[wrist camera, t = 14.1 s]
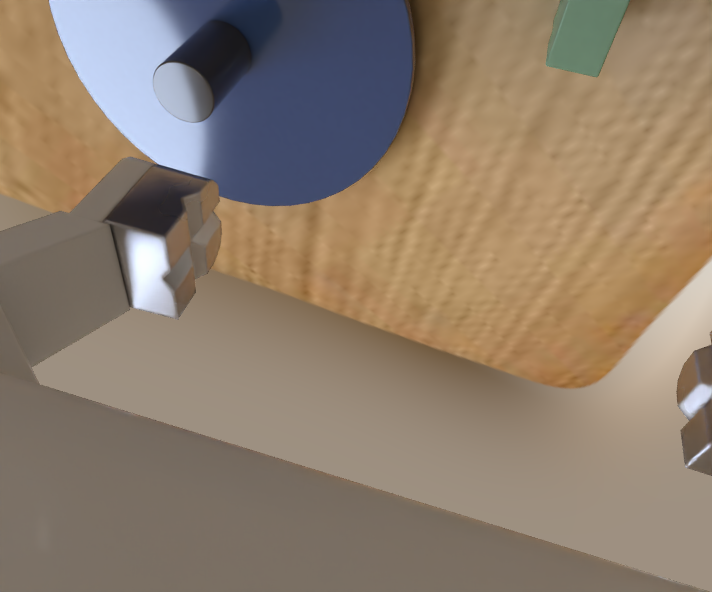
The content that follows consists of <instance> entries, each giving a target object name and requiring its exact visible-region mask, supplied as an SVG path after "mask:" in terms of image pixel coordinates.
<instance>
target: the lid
mask: <svg viewBox="0 0 712 592" xmlns="http://www.w3.org/2000/svg"><path fill="white" fill-rule="evenodd" d="M49 5H50V9H51V13H52V16H53V19H54V22H55V25H56V28H57V32H58V35H59V37H60V39H61V42H62V44H63V46H64V49H65V51H66V53H67V56H68V58H69V60H70V62H71V63H72V65H73V67H74V69H75V71H76V73H77V75H78V77H79V78H80V80H81V81H82V83H83V85H84V86H85V88H86V89H87V91H88V92H89V94H90V95H91V97H92V98H93V100H94V101H95V102H96V104H97V105H98V106H99V107H100V109H101V110H102V111H103V113H104V114H105V115H106V116H107V118H108V119H109V120H110V121H111V122H112V123H113V124H114V125H115V126H116V128H117V129H118V130H119V131H120V132H121V133H122V134H123V135H124V136H125V137H126V138H127V139H128V140H129V141H130V142H131V143H133V144H134V145H135V146H136V147H137V148H138V149H139V150H140V151H141V152H143V153H144V154H145V155H146V156H148V157H149V158H150V159H152V160H153V161H154V162H155V163H157V164H159V165H163V166H166V167H170V168H173V169H177V170H180V171H183V172H187V173H190V174H194V175H197V176H201V177H204V178H207V179H211V180H214V181H215V182H216V183H217V184H218V188H219V196H221V197H224V198H227V199H230V200H234V201H239V202H243V203H248V204H255V205H265V206H291V205H298V204H305V203H310V202H313V201H317V200H320V199H324V198H327V197H329V196H331V195H334V194H336V193H338V192H340V191H343V190H344V189H346V188H347V187H349V186H351V185H352V184H354V183H355V182H357V181H358V180H360V179H361V178H362V177H363V176H364V175H365V174H367V173H368V172H369V171H370V170H371V169H372V168H373V167H374V166H375V165H376V164H377V162H378V161H379V160H380V159H381V158H382V157H383V155H384V154H385V153H386V151H387V150H388V148H389V146H390V145H391V143H392V142H393V140H394V138H395V137H396V135H397V132H398V130H399V128H400V125H401V123H402V121H403V118H404V116H405V113H406V111H407V107H408V104H409V100H410V96H411V92H412V88H413V80H414V71H415V34H414V27H413V20H412V13H411V8H410V4H409V0H49Z"/></svg>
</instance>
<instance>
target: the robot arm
mask: <svg viewBox="0 0 712 592" xmlns="http://www.w3.org/2000/svg"><path fill="white" fill-rule="evenodd" d="M219 202H220V198H219V188H218V184H217V183H216V182H215V181H214V180H211V179H207V178H204V177H201V176H197V175H194V174H190V173H187V172H183V171H180V170H177V169H173V168H170V167H166V166H163V165H159V164H158V165H157V164H154V163H151V162H147V161H144V160H140V159H137V158H133V157H127V158H124V159H122V160H120V161H119V162H118V163H117V164H116V165H115V167H114V168H113V169H112V170H111V171H110V172H109V173H108V174H107V175H106V176H105V177H104V178H103V179H102V180H101V181H100V182H99V183H98V184H97V185H96V186H95V187H94V188H93V189H92V190H91V191H90V192H89V193H88V194H87V195H86V196H85V197H84V198H83V199H82V201H81V202H80V203H79V204H78V205H77V206H76V207H75V208H74V209H73V210H72V211H71V212H70V213H67V212H63V211H59V212H56V213H53V214H50V215H47V216H44V217H41V218H38V219H35V220H32V221H29V222H26V223H23V224H20V225H17V226H14V227H11V228H9V229H6V230H3V231H0V592H709V591H706V590H703V589H700V588H696V587H693V586H690V585H687V584H683V583H680V582H677V581H674V580H671V579H667V578H664V577H661V576H658V575H654V574H651V573H648V572H645V571H641V570H638V569H635V568H631V567H628V566H625V565H622V564H619V563H615V562H612V561H609V560H606V559H602V558H599V557H596V556H593V555H589V554H586V553H583V552H580V551H576V550H573V549H570V548H567V547H563V546H560V545H557V544H554V543H551V542H547V541H544V540H541V539H538V538H535V537H531V536H528V535H525V534H522V533H518V532H515V531H512V530H509V529H505V528H502V527H499V526H495V525H492V524H489V523H486V522H482V521H479V520H476V519H473V518H469V517H467V516H463V515H460V514H457V513H454V512H450V511H447V510H444V509H441V508H437V507H434V506H431V505H428V504H424V503H421V502H418V501H415V500H412V499H408V498H405V497H402V496H399V495H395V494H392V493H389V492H386V491H382V490H379V489H376V488H372V487H369V486H366V485H363V484H360V483H357V482H353V481H350V480H347V479H344V478H340V477H337V476H334V475H331V474H327V473H324V472H321V471H318V470H315V469H311V468H308V467H305V466H302V465H298V464H295V463H292V462H289V461H285V460H282V459H279V458H275V457H272V456H269V455H266V454H263V453H260V452H256V451H253V450H250V449H247V448H243V447H240V446H237V445H234V444H230V443H227V442H224V441H221V440H217V439H214V438H211V437H208V436H205V435H201V434H198V433H195V432H192V431H188V430H185V429H182V428H179V427H175V426H172V425H169V424H166V423H163V422H159V421H156V420H153V419H150V418H147V417H143V416H140V415H137V414H134V413H130V412H127V411H124V410H121V409H118V408H114V407H111V406H108V405H105V404H101V403H98V402H95V401H92V400H88V399H85V398H82V397H79V396H76V395H72V394H69V393H66V392H63V391H59V390H56V389H53V388H50V387H46V386H43V385H40V384H39V382H38V380H37V378H36V376H35V374H34V371H33V369H32V367H33V366H35V365H36V364H38V363H40V362H42V361H44V360H45V359H47V358H48V357H50V356H52V355H54V354H55V353H57V352H58V351H61V350H62V349H64V348H66V347H67V346H69V345H71V344H72V343H74V342H76V341H77V340H79V339H81V338H83V337H84V336H86V335H88V334H90V333H91V332H93V331H95V330H96V329H98V328H100V327H101V326H103V325H105V324H107V323H108V322H110V321H112V320H113V319H115V318H117V317H119V316H120V315H122V314H124V313H125V312H127V311H129V310H130V307H132V308H136V309H139V310H143V311H147V312H151V313H155V314H158V315H162V316H166V317H170V318H174V319H179V317H180V316H181V314H182V313H183V311H184V310H185V308H186V307H187V305H188V303H189V302H190V300H191V299H192V297H193V296H194V294H195V293H196V287H195V279H197V278H199V277H201V276H204V275H206V274H208V272H209V270H210V269H211V267H212V265H213V264H214V262H215V260H216V257H217V254H218V251H219V248H220V244H221V235H222V228H221V221H220V220H219V218H218V217H217V215H216V214H215V213H214V211H213V210H214V209H215V207H216V206H217V205H218V203H219ZM710 336H711V343H712V331H711V332H710ZM677 403H678V407H679V408H680V409H681V411H682V412H683V414H684V415H685V416H686V417H687V419H688V420H689V422H688V423H687V424H686V425H685V426H684V427H683V428H682V429H681V437H682V446H683V453H684V462H685V467H686V468H689V469H692V470H695V471H699V472H702V473H705V474H708V475H711V476H712V345H710V346H707V347H704V348H701V349H698V350H695V351H694V352H693V353H692V355H691V356H690V357H689V358H688V360H687V361H686V362H685V363H684V366H683V368H682V371H681V373H680V376H679V379H678V385H677Z"/></svg>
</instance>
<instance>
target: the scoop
mask: <svg viewBox="0 0 712 592" xmlns="http://www.w3.org/2000/svg"><path fill="white" fill-rule="evenodd" d="M629 2H630V0H561V1H560V4H559V7H558V10H557V13H556V15H555V18H554V22H553V31H552V34H551V37H550V40H549V43H548V50H547V58H546V66H549V67H553V68H557V69H562V70H566V71H571V72H575V73H580V74H584V75H589V76H593V77H598V76H599V73H600V71H601V69H602V66H603V64H604V61H605V59H606V57H607V54H608V52H609V50H610V47H611V45H612V42H613V40H614V38H615V35H616V33H617V31H618V28H619V26H620V24H621V21H622V19H623V16H624V14H625V12H626V9H627V7H628V5H629Z"/></svg>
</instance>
